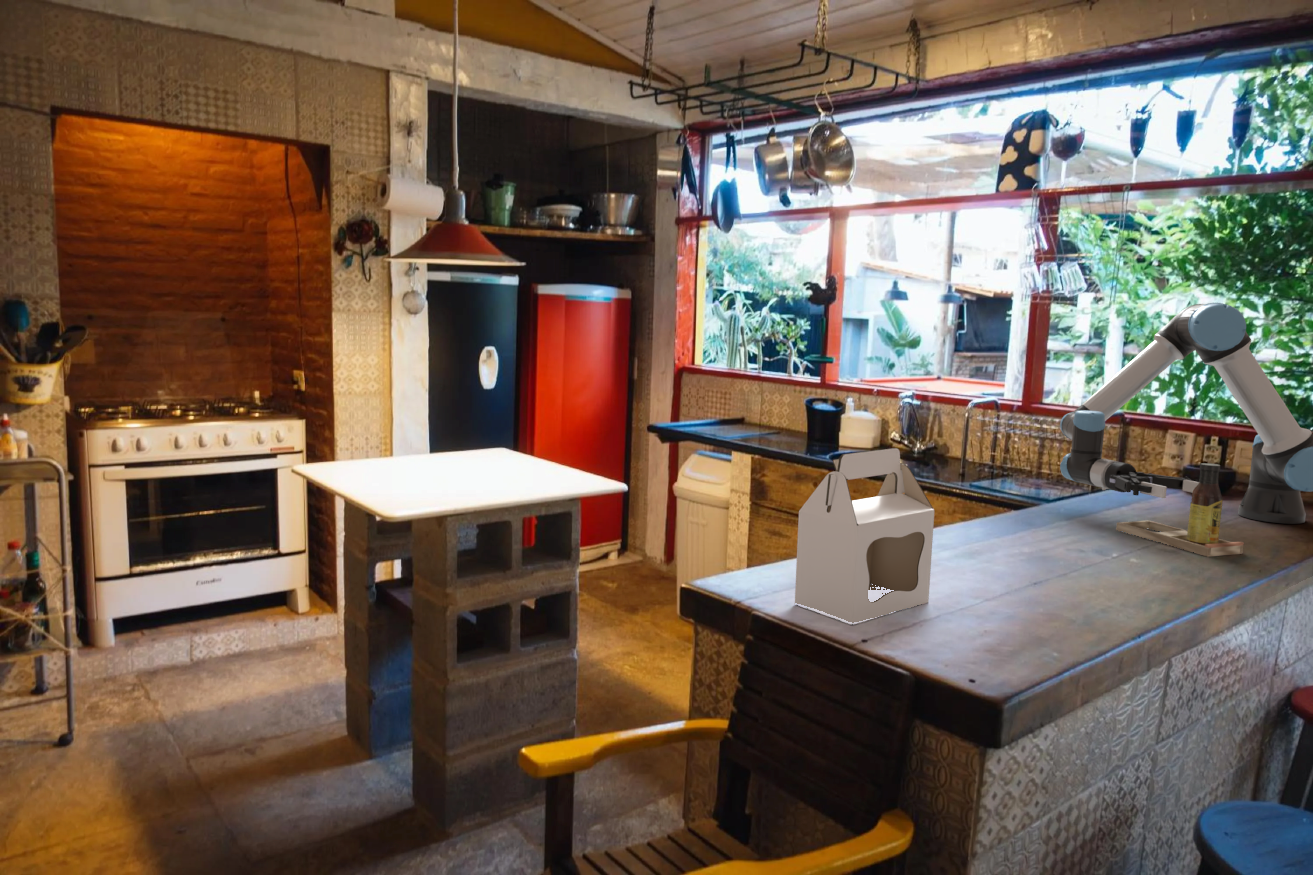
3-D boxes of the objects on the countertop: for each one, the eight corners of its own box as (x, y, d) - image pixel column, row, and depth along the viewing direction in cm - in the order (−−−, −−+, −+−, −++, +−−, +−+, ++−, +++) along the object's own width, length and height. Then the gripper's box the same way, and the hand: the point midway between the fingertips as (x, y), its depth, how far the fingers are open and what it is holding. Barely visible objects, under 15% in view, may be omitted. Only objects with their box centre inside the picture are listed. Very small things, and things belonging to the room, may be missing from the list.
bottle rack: (1148, 527, 229) (1149, 518, 229) (1242, 553, 205) (1243, 542, 205) (1116, 530, 226) (1117, 520, 226) (1208, 556, 202) (1209, 545, 202)
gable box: (871, 585, 175) (879, 442, 171) (929, 602, 165) (939, 451, 161) (792, 605, 161) (799, 451, 157) (851, 626, 151) (860, 461, 147)
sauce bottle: (1215, 553, 205) (1225, 467, 202) (1184, 549, 209) (1192, 464, 206) (1218, 548, 210) (1228, 464, 207) (1188, 543, 214) (1196, 461, 211)
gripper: (1149, 487, 237) (1223, 504, 217) (1074, 491, 229) (1144, 509, 209) (1152, 459, 236) (1227, 473, 216) (1077, 462, 228) (1148, 477, 208)
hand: (1186, 491), depth 212 cm, fingers open, 13 cm apart
